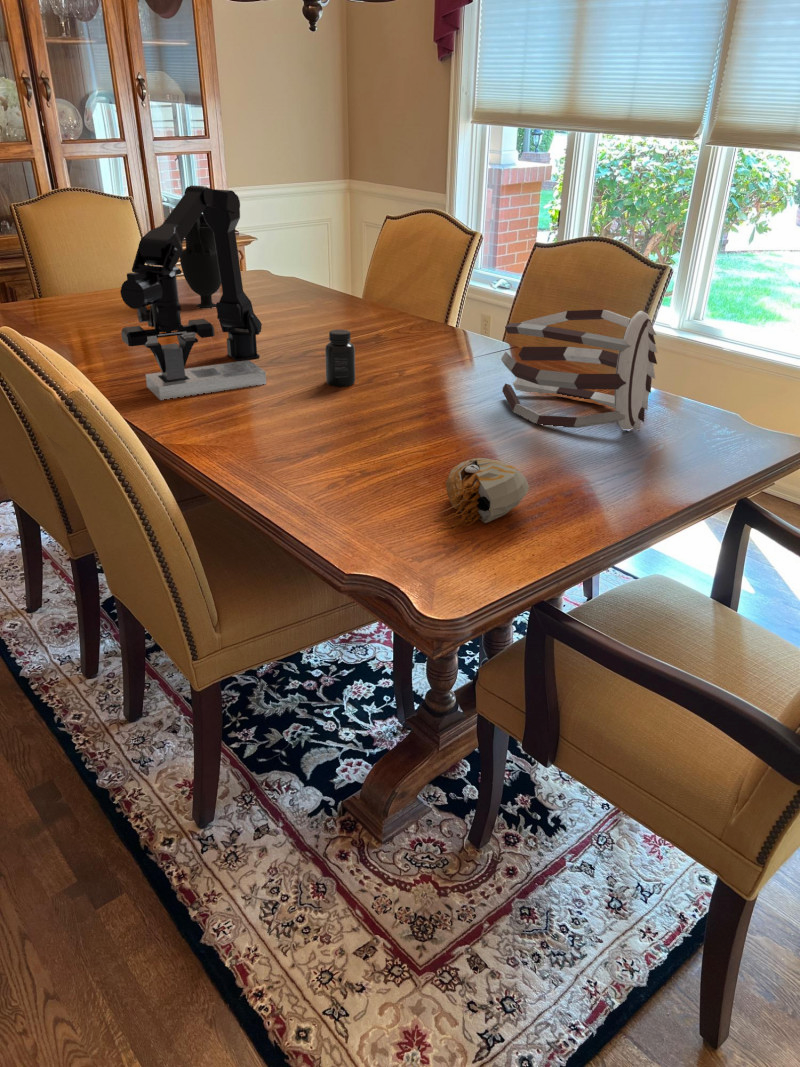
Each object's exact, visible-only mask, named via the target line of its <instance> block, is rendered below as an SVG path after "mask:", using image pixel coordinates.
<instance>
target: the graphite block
mask: <svg viewBox="0 0 800 1067" xmlns="http://www.w3.org/2000/svg"><path fill="white" fill-rule="evenodd" d="M161 347H162V353H163V359H164V365H165V373H163V372H162V371H161V372H162V380H163V381H164V382H165V383H167V382H174V381H181V380H186V379H185V370H184V369H185V368H184V360H183V351H182V347H180V346H179V343H177V342H176V343H175V342H174V343H168V344H161Z"/></svg>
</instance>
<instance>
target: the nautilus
mask: <svg viewBox="0 0 800 1067" xmlns="http://www.w3.org/2000/svg"><path fill="white" fill-rule="evenodd" d="M444 483H445V488H446V493H445V494H442V495H440V496H437V497H436V499H439V498H442V497H445V496H447V497H448V498H447V499H445V500H442V501H441V503H444V502H447V501H449V502H450V504H451V507H448V508H447V509H443V510H442V511H439V512H438V513H437V515H440V514H442V513H444V512H447V511H449V510H450V509H453V508H454V509H456V512H452V513H451V514H449V515H448V516H447V515H446V516H445V517H442V518H441V519H436V520H434V521H431V523H436V524H437V523H440V522H446V521H449V520H452V519H454V518H456V517H458V516H461V517H460V518H458V519H456V520H454V521H452V522H449V523H447V524H443V525H440V527H446V526H447V527H448V528H442V529H441V530H437V531H435V533H439V532H443V531H446V530H449V529H452V530H451V531H450V533H449V534H452V533H453V532H454V530H455V529H456V528H458V527H457V526H460V525H464V526H466V525H468V526H469V525H472V524H474V523H475V522H476V521H478V520H481V522H483V523H484V524H486V523H487V524H488V523H489V522H491V521H493V520H496V519H498V518H501V517H503V516H505V515H507V513H510V511H512V510H513V509H514V508H516V507H517V506H518V505H519V504H520V502H521V501H522V500H523V498H525V496H526V495H527V493H528V492H529V490H530V486H529V483H528V481H527V479H526V477H525V476H524V475H523V473H522V472H521V471H519V470H518V469H517V468H516V467H515V466H513V465H511V464H508V463H505V462H503V461H501V460H496V459H492V458H486V457H485V458H482V457H476V458H471V459H468V460H465V461H462V462H460V463H458V464H457V465H455V466H454V467H453V468H451V471H450V472H449V474H448V477H447V479H446V480H445V482H444ZM489 509H490V510H489ZM459 512H461V513H459ZM469 522H470V523H469ZM462 523H463V524H462ZM466 523H467V524H466ZM451 524H452V525H451ZM465 524H466V525H465ZM449 525H450V526H449ZM453 526H456V527H454V528H451V527H453Z"/></svg>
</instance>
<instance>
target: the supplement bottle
mask: <svg viewBox="0 0 800 1067" xmlns="http://www.w3.org/2000/svg"><path fill="white" fill-rule="evenodd" d="M328 333H329V334H328V335H329V337H328V341H329V342H328V343H327V344H326V345H325V348H324V352H325V353H324V354H325V381H326V384H327V385H329V386H331V387H337V388H344V387H351V386H352V385H354V384H355V382H356V349H355V348H356V347H355V344H354V343H352V342H350V341H351V340H352V339H351V331H350V330H348V329H332V330H329V332H328Z"/></svg>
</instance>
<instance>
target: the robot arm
mask: <svg viewBox="0 0 800 1067" xmlns="http://www.w3.org/2000/svg"><path fill="white" fill-rule="evenodd" d="M240 209H241V202H240V197H239V196H238V194H237V193H236V192H235V191H233V190H232V189H231V190H229V189H227V190H226V189H217V188H216V189H215V188H210V187H208V186H207V185H190V186H187V187H186V188H185V190H184V194H183V196H182V197H181V198H180V200H179V201H178V203H177V204H176V205H175V207H174V208H173V209H172V211H171V212H170V213H169V214H168V216H167V218H166V219H165V220H164V221H163V223H162V224H161V225H159V226H157V227H155V228H153V229H150V230H149V231H148V232H147V233H145V234H144V235H143V236H142V237H141V239H140V240H139V243H138V248H137V251H136V254H135V258H134V261H133V265H132V267H131V268H132V269H131V271H132V272H128V273H126V280H125V281H123V283H121V284H122V285H121V287H120V297H121V300H122V301H123V302H124V304H125V305H126V306H127V307H129V308H130V309H132V310H133V309H134V310H136V312H137V314H136V315H137V318H138V322H139V323H141V324H142V323H147V326H148V327H151V329H144V328H143V327H142V326H141V325H134V326H124V327H123V328H122V329H121V332H120V334H121V340H122V342H124V343H125V345H127V346H128V347H137V346H138V347H139V346H144V347H146V348H147V349H149V350H150V351H151V352H152V354H153V356H154V359H155V361H156V362H157V365H158V367H159V368H160V372H163V373H165V365H164V359H163V353H162V347H161V345H162V344H161V343H160V342H159V341H158V340H159V339H160V338H166V337H175V336H177V341H178V345H179V346H180V347H182V351H183V360H184V369H186V365H187V363H188V359H189V355H190V354H191V351H192V348H193V346H194V345H195V344H196V343H198V342H199V339H198V338H197V337H196V335H198V336H199V337H200V338H201V339H203V338H211V337H215V328H214V325H213V324H212V323H211V322H210V321H208V320H206V319H205V318H199V319H197V318H195V319H189V320H188V324H187V325H186V324H185V325H183V324H182V316H181V311H182V306H181V304H180V302H179V301H180V299H179V291H178V290H179V289H178V281H177V276H178V275H181V274H183V271H182V269H180V268H179V267H178V266H176V265H177V263H179V261H180V256H181V254H182V252H183V250H184V246H183V242H184V240H185V237H186V235H187V234H188V232H189V231H190V229H191V228H192V227H193V225H194V224H195V222H196V221H197V219H198V218H199V217H200V215H201V214H203V216H204V219H205V221H206V223H207V224H208V225H209V227H210V228H211V229H212V231H213V233H214V239H215V246H216V253H217V259H218V266H219V273H220V279H221V286H220V287H221V292H222V295H221V296H220V298H219V301H218V302H216V303H215V304H216V313H217V314H216V315H217V320H219V321H218V322H219V325H220V327H221V331H222V333H227V336H228V337H226V350H227V352H226V354H227V355H228V356H229V357H230V358H232V359H233V360H235V361H246V360H252V359H257V358H258V359H259V358H260V357H261V355H260V354H258V349H257V348H258V347H257V336H258V335H260V333H261V332H262V326H263V324H262V322H261V320H259V317H257V315H256V314H255V312H254V308H253V304H252V301H251V299H250V298H249V296H248V295H247V294H246V292H245V291H244V286H243V280H242V273H241V266H240V264H241V263H240V258H239V249H238V244H237V242H238V241H237V236H236V227H237V226H238V224H239V221H240V219H241V210H240ZM148 306H150V307H149V308H150V309H148ZM158 338H159V339H158Z"/></svg>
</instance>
